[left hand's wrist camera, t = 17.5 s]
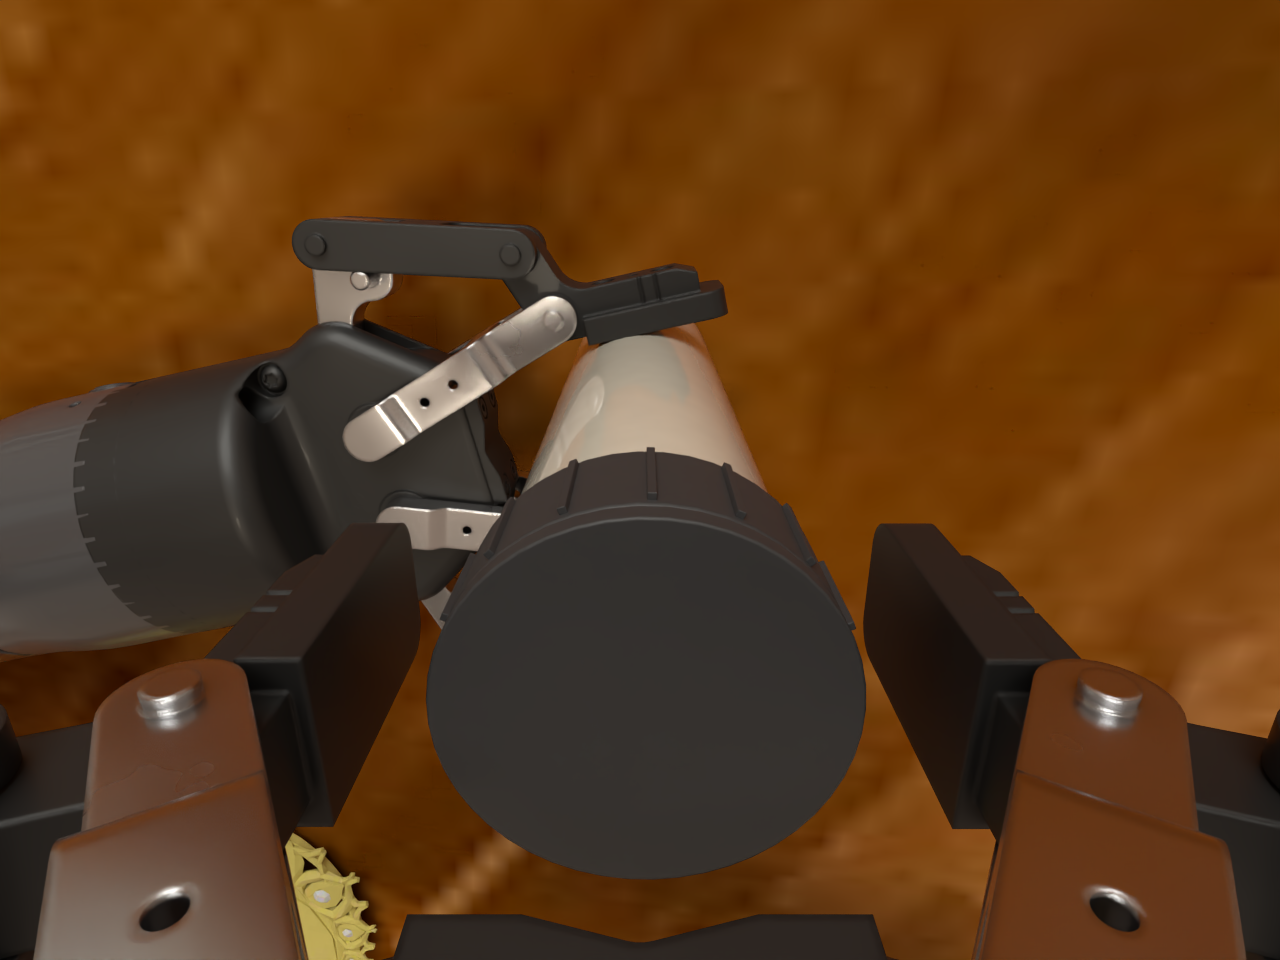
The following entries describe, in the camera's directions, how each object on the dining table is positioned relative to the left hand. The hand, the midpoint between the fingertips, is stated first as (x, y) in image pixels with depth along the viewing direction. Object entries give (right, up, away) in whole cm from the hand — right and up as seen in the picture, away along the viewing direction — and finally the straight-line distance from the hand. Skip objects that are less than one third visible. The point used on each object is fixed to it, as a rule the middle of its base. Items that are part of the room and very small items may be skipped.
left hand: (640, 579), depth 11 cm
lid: (0, -1, -2) cm, 3 cm away
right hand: (+3, +4, +10) cm, 11 cm away
